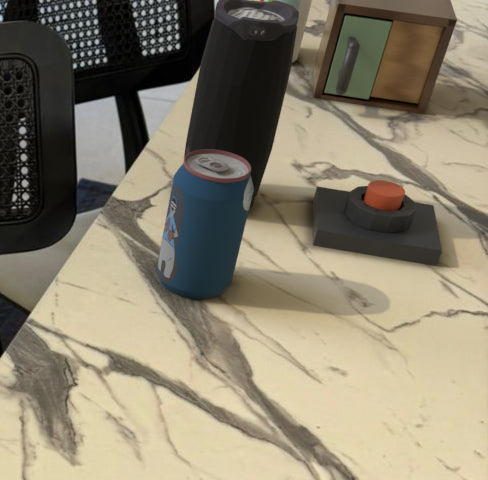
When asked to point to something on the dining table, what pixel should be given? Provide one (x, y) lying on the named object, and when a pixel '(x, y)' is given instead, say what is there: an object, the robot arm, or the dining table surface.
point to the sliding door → (357, 56)
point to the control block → (375, 227)
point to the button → (384, 195)
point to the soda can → (205, 223)
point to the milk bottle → (302, 4)
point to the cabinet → (393, 51)
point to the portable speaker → (243, 81)
